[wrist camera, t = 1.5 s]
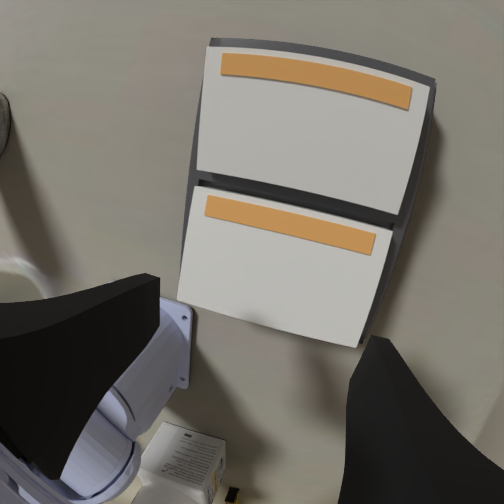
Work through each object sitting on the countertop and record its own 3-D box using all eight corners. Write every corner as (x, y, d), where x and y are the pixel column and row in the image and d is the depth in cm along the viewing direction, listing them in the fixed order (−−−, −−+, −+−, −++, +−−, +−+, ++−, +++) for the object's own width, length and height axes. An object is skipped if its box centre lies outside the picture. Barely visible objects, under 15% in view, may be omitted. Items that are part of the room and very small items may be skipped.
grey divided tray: (362, 313, 20) (366, 344, 16) (197, 271, 22) (174, 293, 18) (420, 91, 14) (440, 81, 11) (227, 54, 16) (205, 37, 13)
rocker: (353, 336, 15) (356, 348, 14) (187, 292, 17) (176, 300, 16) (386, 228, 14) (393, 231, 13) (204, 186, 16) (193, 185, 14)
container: (226, 468, 31) (192, 549, 19) (171, 451, 33) (129, 523, 21) (226, 439, 28) (184, 536, 17) (162, 419, 30) (109, 503, 18)
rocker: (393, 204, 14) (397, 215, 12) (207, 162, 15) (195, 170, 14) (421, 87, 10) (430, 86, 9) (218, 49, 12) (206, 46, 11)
